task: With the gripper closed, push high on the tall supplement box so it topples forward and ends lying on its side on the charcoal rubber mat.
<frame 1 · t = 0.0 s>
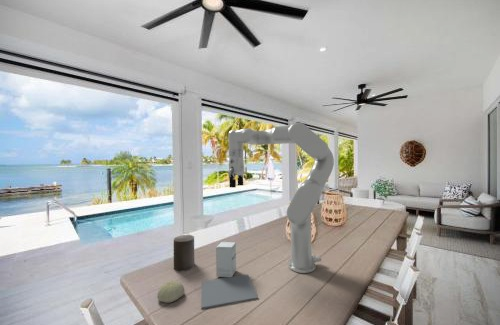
hand: (236, 186, 109), 37 cm above the table, tool pointing down, fingers open, 9 cm apart
supplement box: (226, 273, 92), on the table, touching charcoal mat
pillar candle: (184, 266, 101), on the table
charcoal mat: (227, 290, 80), on the table
sea urchin shell: (171, 297, 78), on the table
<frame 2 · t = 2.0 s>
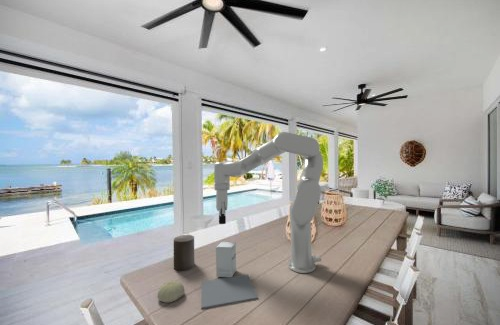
hand: (222, 223, 103), 20 cm above the table, tool pointing down, fingers closed
nothing on the table moved.
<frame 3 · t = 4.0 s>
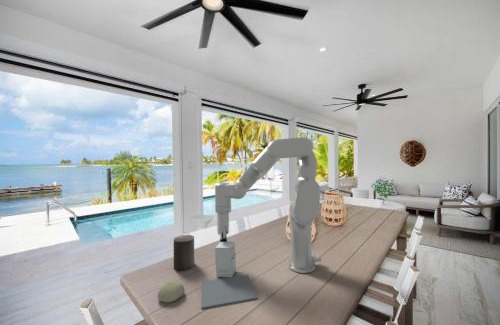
hand: (223, 246, 99), 10 cm above the table, tool pointing down, fingers closed
supplement box: (226, 273, 92), on the table, touching charcoal mat, gripper
everything else where it was.
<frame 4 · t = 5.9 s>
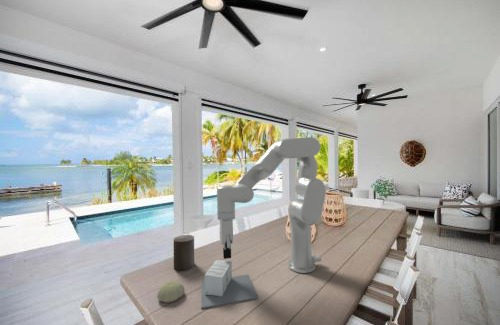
hand: (227, 257, 88), 9 cm above the table, tool pointing down, fingers closed
supplement box: (224, 268, 89), point 4 cm above the table, touching charcoal mat
everything else where it was.
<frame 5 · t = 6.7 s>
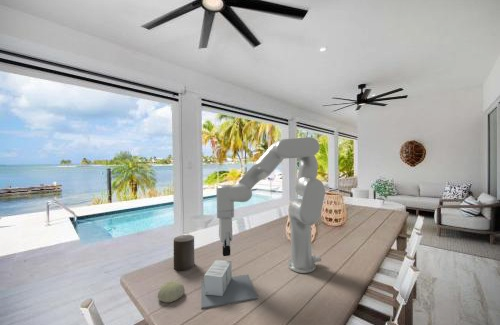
hand: (226, 255, 91), 9 cm above the table, tool pointing down, fingers closed
nothing on the table moved.
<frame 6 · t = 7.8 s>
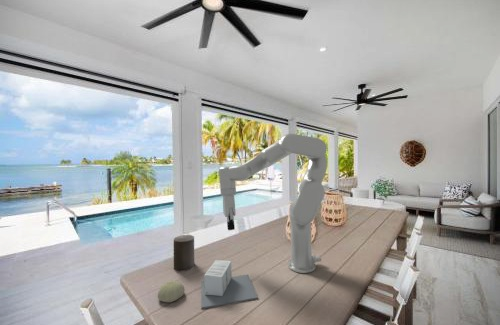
hand: (231, 229, 101), 17 cm above the table, tool pointing down, fingers closed
nothing on the table moved.
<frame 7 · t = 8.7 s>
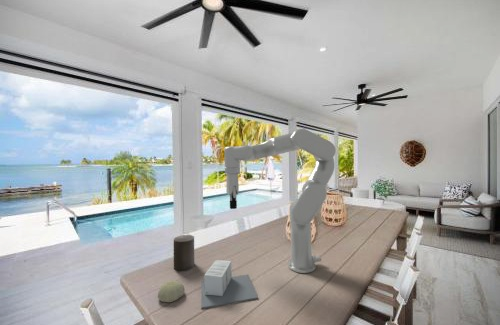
hand: (233, 208, 102), 27 cm above the table, tool pointing down, fingers closed
nothing on the table moved.
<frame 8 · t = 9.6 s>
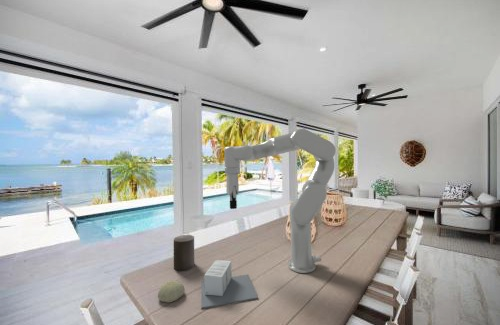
hand: (233, 208, 102), 27 cm above the table, tool pointing down, fingers closed
nothing on the table moved.
at the end: supplement box tilted 90°; supplement box touching charcoal mat; supplement box inside the target area (4.8 cm from its centre), point 4.3 cm above the table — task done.
